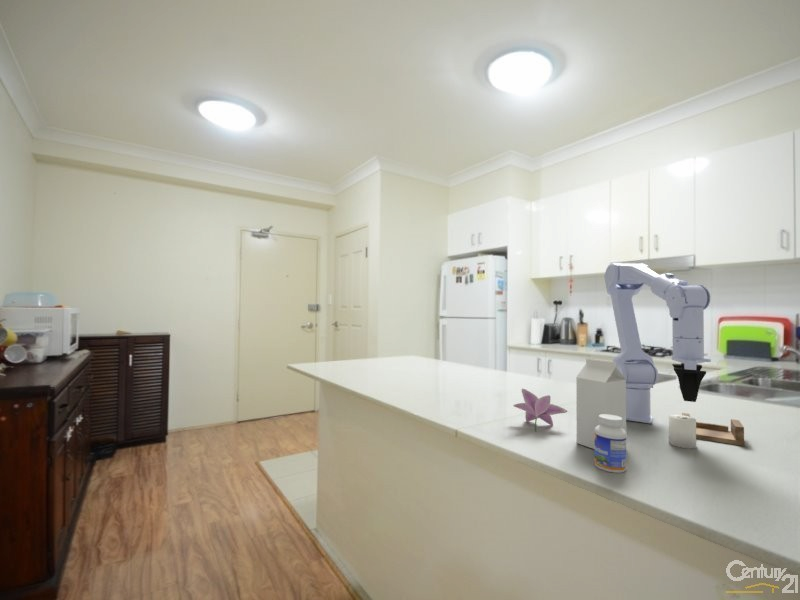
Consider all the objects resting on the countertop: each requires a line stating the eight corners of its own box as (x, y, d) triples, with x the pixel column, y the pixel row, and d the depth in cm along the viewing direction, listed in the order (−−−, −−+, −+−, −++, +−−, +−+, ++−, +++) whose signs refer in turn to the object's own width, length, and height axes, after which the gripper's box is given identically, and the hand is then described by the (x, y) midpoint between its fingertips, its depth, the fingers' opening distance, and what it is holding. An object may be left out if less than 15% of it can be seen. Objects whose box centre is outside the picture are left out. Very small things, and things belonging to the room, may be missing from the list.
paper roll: (669, 445, 86) (668, 418, 86) (668, 439, 90) (668, 413, 90) (697, 450, 83) (696, 421, 83) (695, 443, 87) (695, 416, 88)
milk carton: (605, 454, 81) (605, 363, 81) (576, 443, 87) (576, 359, 87) (626, 448, 84) (626, 361, 84) (596, 438, 90) (596, 357, 91)
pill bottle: (588, 462, 76) (588, 413, 76) (614, 461, 77) (614, 412, 77) (605, 474, 71) (605, 421, 71) (633, 473, 71) (633, 420, 71)
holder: (683, 436, 92) (683, 419, 92) (682, 428, 99) (682, 412, 99) (744, 446, 86) (744, 428, 86) (738, 436, 93) (738, 419, 93)
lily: (573, 437, 94) (571, 399, 99) (543, 424, 89) (542, 385, 94) (533, 439, 103) (532, 404, 108) (502, 428, 98) (504, 391, 103)
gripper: (714, 340, 79) (715, 407, 79) (706, 337, 91) (707, 394, 91) (672, 339, 83) (673, 402, 83) (670, 335, 95) (670, 390, 95)
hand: (688, 397), depth 87 cm, fingers open, 7 cm apart
